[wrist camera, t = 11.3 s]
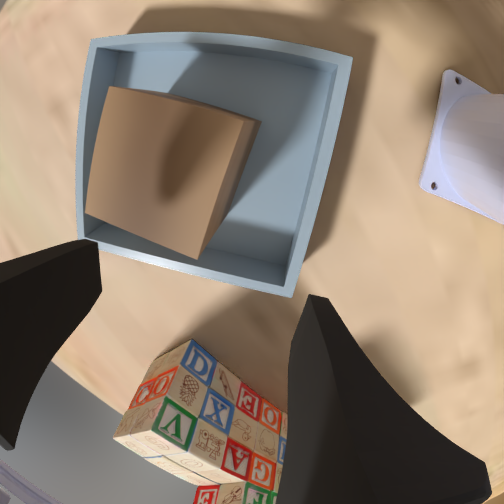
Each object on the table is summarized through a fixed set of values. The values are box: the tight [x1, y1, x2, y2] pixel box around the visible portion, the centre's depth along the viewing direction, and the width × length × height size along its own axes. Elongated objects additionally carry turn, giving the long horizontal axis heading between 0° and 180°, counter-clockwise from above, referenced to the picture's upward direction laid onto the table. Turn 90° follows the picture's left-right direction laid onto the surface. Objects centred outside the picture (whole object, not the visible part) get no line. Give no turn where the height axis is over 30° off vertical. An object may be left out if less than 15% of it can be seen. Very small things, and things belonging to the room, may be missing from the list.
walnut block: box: [85, 86, 262, 260], centre depth 13 cm, size 6×6×6 cm
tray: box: [76, 32, 353, 298], centre depth 15 cm, size 14×13×3 cm
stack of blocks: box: [113, 339, 288, 504], centre depth 21 cm, size 21×6×12 cm, turn 41°
